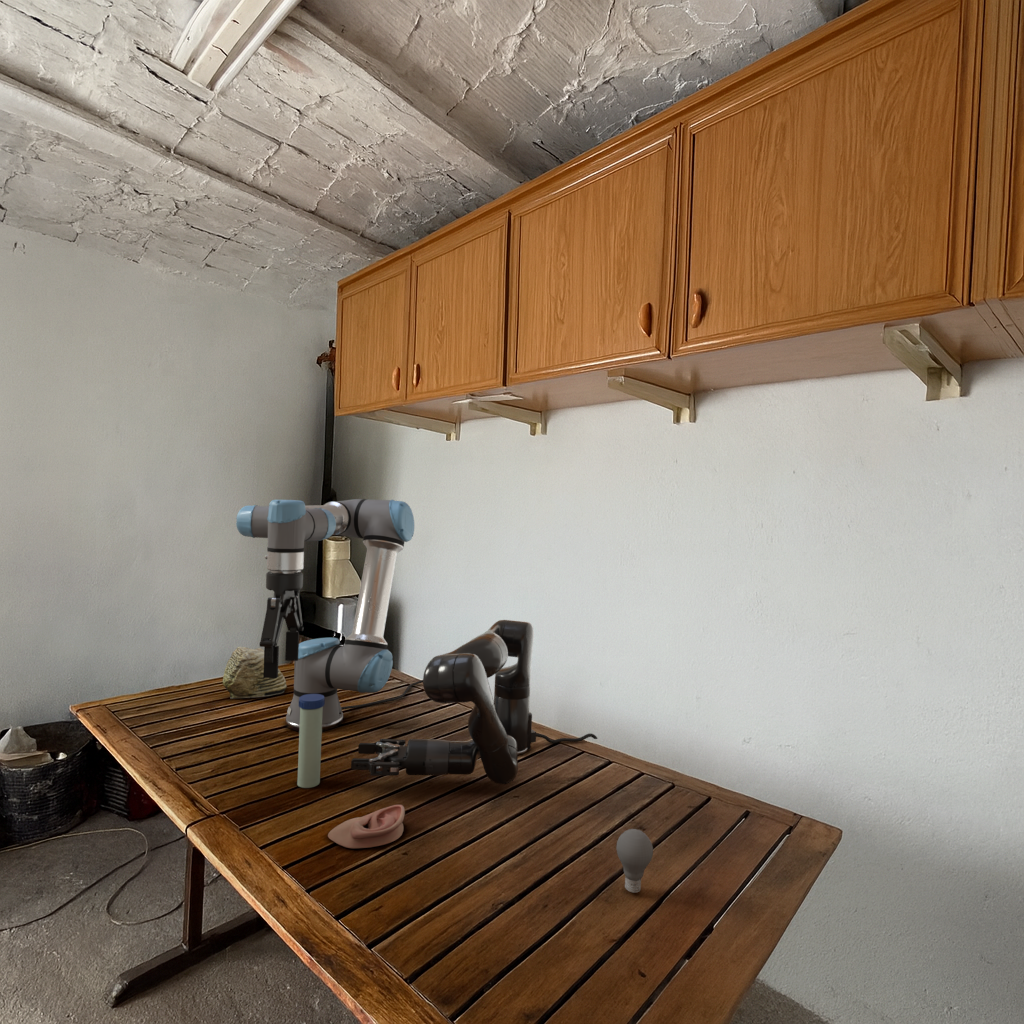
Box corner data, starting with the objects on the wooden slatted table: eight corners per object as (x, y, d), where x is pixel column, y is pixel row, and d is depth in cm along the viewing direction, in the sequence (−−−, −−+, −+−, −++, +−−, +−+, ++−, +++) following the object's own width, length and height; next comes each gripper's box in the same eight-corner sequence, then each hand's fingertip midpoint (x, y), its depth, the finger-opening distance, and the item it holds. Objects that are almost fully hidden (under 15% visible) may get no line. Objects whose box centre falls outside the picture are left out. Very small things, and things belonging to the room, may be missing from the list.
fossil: (218, 695, 195) (220, 647, 195) (278, 685, 208) (279, 640, 207) (228, 703, 189) (230, 653, 188) (289, 692, 201) (290, 645, 201)
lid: (308, 711, 136) (309, 703, 136) (293, 705, 139) (293, 697, 139) (329, 705, 140) (329, 697, 140) (314, 699, 143) (314, 692, 143)
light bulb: (610, 879, 108) (613, 822, 108) (644, 879, 109) (647, 822, 109) (619, 902, 102) (622, 840, 102) (655, 901, 103) (658, 840, 103)
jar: (306, 790, 136) (309, 704, 136) (292, 783, 139) (296, 699, 139) (324, 782, 140) (327, 699, 140) (310, 776, 143) (314, 694, 143)
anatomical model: (320, 822, 115) (348, 794, 127) (319, 843, 116) (348, 813, 127) (388, 833, 113) (411, 803, 124) (387, 855, 113) (410, 823, 124)
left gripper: (286, 564, 149) (283, 653, 150) (244, 577, 124) (241, 685, 125) (318, 565, 149) (315, 654, 150) (283, 579, 124) (279, 686, 125)
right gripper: (431, 728, 148) (361, 727, 147) (427, 753, 134) (349, 752, 133) (429, 760, 149) (359, 759, 147) (425, 788, 134) (348, 787, 133)
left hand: (281, 668), depth 137 cm, fingers open, 13 cm apart
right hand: (355, 755), depth 140 cm, fingers open, 8 cm apart
